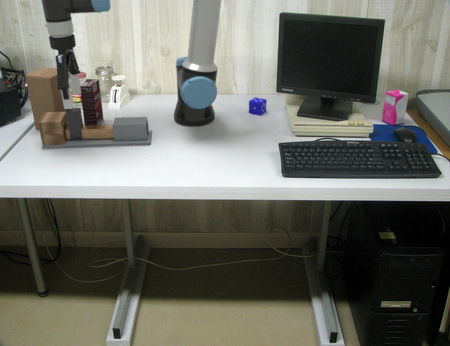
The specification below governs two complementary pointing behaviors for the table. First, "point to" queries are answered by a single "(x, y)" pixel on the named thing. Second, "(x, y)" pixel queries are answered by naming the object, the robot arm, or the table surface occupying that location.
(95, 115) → the supplement box
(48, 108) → the wooden block
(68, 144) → the base board
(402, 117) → the supplement box
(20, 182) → the table surface
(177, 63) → the robot arm
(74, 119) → the brown piece
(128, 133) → the sleeve
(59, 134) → the socket block
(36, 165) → the table surface
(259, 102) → the die
